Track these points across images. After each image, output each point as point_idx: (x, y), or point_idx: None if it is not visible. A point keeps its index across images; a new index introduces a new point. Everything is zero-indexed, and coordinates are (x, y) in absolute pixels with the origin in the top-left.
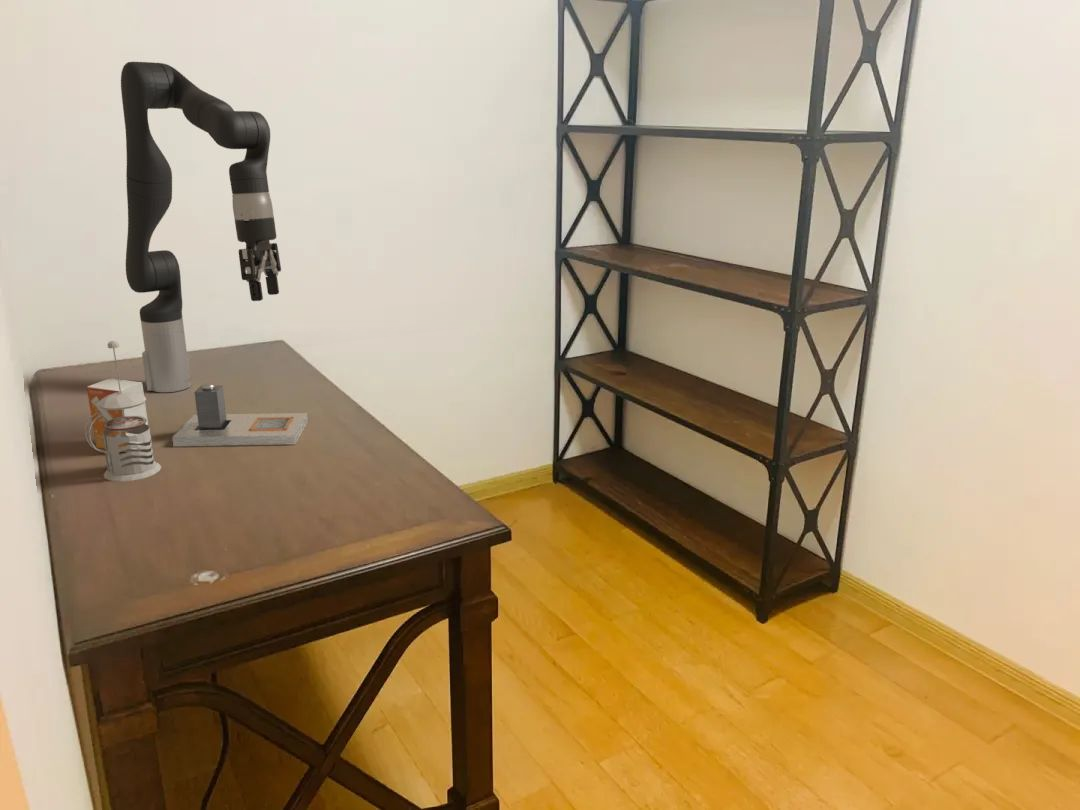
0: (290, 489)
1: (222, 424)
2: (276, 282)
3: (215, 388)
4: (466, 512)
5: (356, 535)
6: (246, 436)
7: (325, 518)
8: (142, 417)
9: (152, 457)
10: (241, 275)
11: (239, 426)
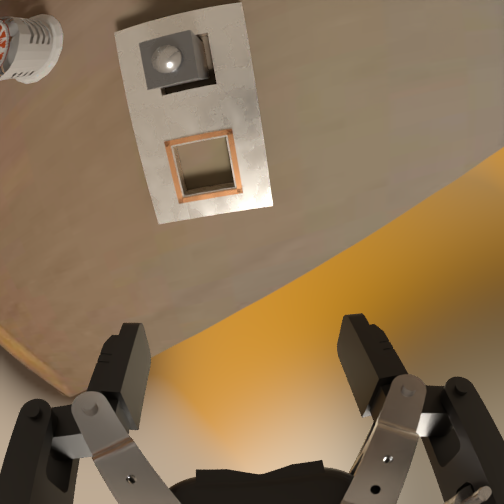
0: (42, 263)
1: (178, 84)
2: (353, 392)
3: (171, 73)
4: (75, 386)
5: (12, 331)
6: (139, 150)
7: (18, 307)
8: (2, 57)
9: (27, 74)
10: (17, 419)
11: (182, 115)
